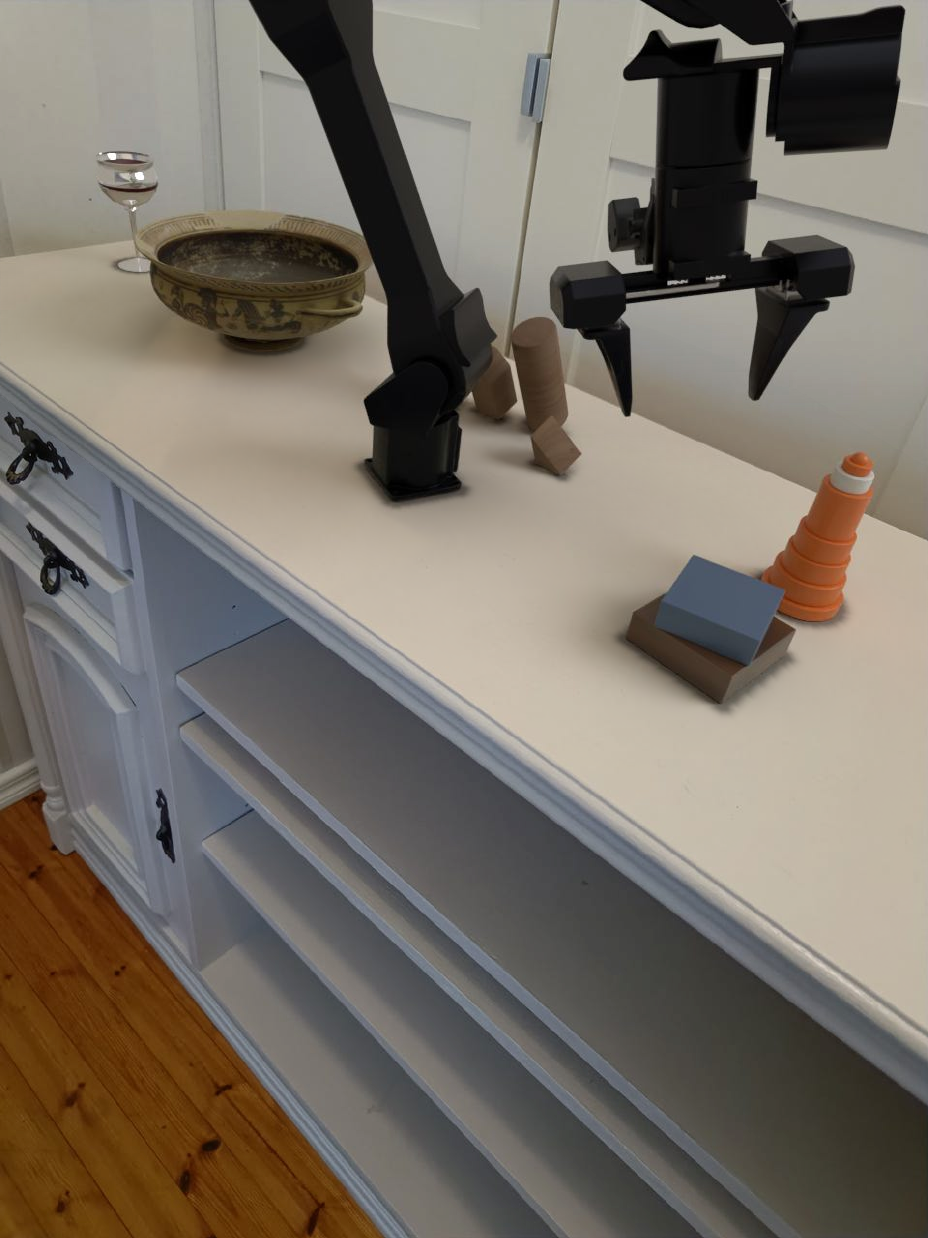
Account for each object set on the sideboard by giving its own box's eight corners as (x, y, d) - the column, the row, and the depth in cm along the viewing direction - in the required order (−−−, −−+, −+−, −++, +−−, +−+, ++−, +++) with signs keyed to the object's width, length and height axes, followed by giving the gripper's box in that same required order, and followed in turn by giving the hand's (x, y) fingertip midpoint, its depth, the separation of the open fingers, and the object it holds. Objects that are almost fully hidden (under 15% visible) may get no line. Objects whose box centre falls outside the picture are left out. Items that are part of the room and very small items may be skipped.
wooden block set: (422, 421, 86) (394, 337, 78) (477, 369, 88) (456, 283, 80) (563, 489, 77) (549, 402, 68) (620, 429, 79) (613, 339, 71)
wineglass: (135, 252, 109) (120, 147, 101) (179, 264, 107) (168, 158, 99) (97, 265, 104) (79, 156, 96) (143, 278, 102) (128, 167, 94)
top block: (749, 667, 54) (760, 641, 53) (652, 626, 56) (661, 600, 55) (775, 614, 59) (785, 589, 57) (685, 579, 61) (693, 553, 60)
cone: (798, 629, 62) (866, 482, 54) (742, 581, 66) (798, 438, 58) (855, 611, 64) (928, 467, 56) (798, 566, 68) (859, 426, 60)
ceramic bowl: (437, 364, 91) (445, 268, 85) (243, 418, 78) (236, 309, 71) (278, 277, 107) (275, 191, 101) (93, 310, 93) (76, 212, 87)
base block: (720, 704, 55) (731, 677, 53) (625, 638, 59) (632, 611, 57) (785, 655, 59) (797, 629, 58) (691, 597, 63) (700, 571, 62)
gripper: (799, 132, 59) (774, 356, 67) (532, 164, 58) (542, 385, 67) (878, 147, 49) (837, 405, 58) (561, 185, 49) (568, 439, 58)
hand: (689, 406), depth 61 cm, fingers open, 9 cm apart
